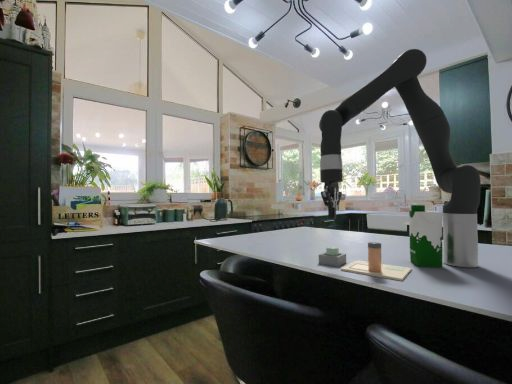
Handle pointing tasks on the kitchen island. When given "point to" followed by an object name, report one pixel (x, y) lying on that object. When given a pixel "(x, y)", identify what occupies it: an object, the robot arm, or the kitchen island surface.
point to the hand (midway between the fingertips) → (332, 218)
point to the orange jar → (374, 257)
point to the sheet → (386, 272)
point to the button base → (332, 259)
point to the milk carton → (425, 237)
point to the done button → (332, 251)
